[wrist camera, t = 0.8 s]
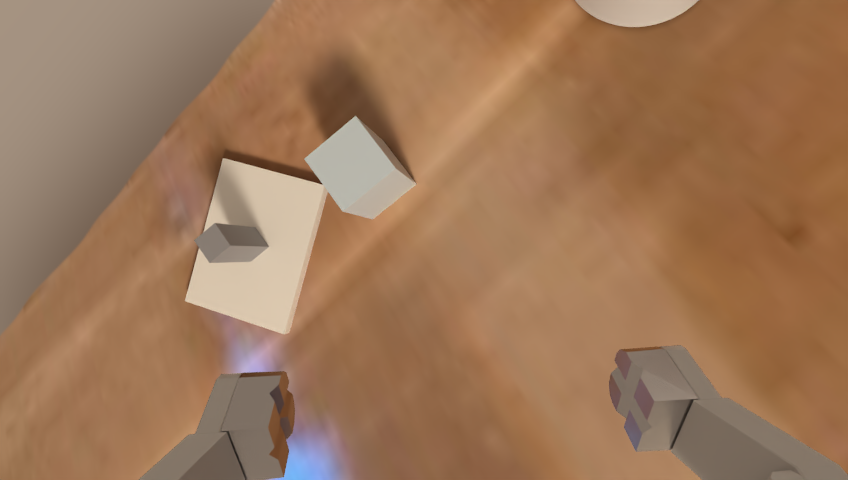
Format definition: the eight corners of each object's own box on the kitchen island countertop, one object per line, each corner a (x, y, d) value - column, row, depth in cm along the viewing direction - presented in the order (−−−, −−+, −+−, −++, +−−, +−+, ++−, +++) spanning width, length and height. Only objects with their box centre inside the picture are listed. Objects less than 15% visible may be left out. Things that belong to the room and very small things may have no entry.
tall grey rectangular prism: (383, 140, 49) (355, 115, 40) (416, 184, 48) (395, 168, 40) (340, 175, 50) (304, 158, 41) (372, 219, 49) (342, 211, 40)
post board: (229, 160, 52) (178, 142, 44) (328, 186, 50) (294, 173, 42) (192, 300, 53) (134, 308, 44) (289, 332, 50) (247, 347, 42)
